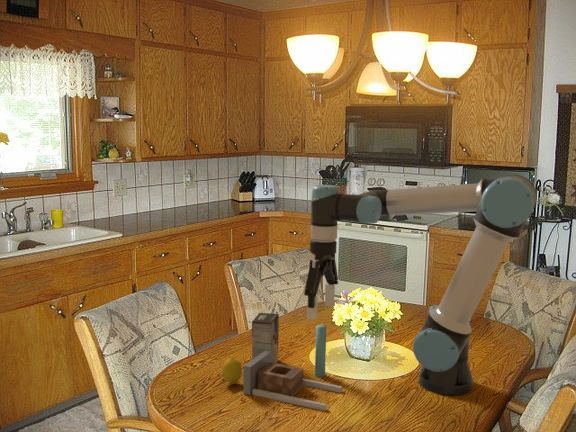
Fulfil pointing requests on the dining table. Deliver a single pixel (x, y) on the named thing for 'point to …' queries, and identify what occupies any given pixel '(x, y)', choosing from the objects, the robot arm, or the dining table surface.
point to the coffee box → (265, 334)
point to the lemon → (232, 370)
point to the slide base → (252, 387)
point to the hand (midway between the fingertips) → (320, 311)
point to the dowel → (320, 351)
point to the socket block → (280, 379)
